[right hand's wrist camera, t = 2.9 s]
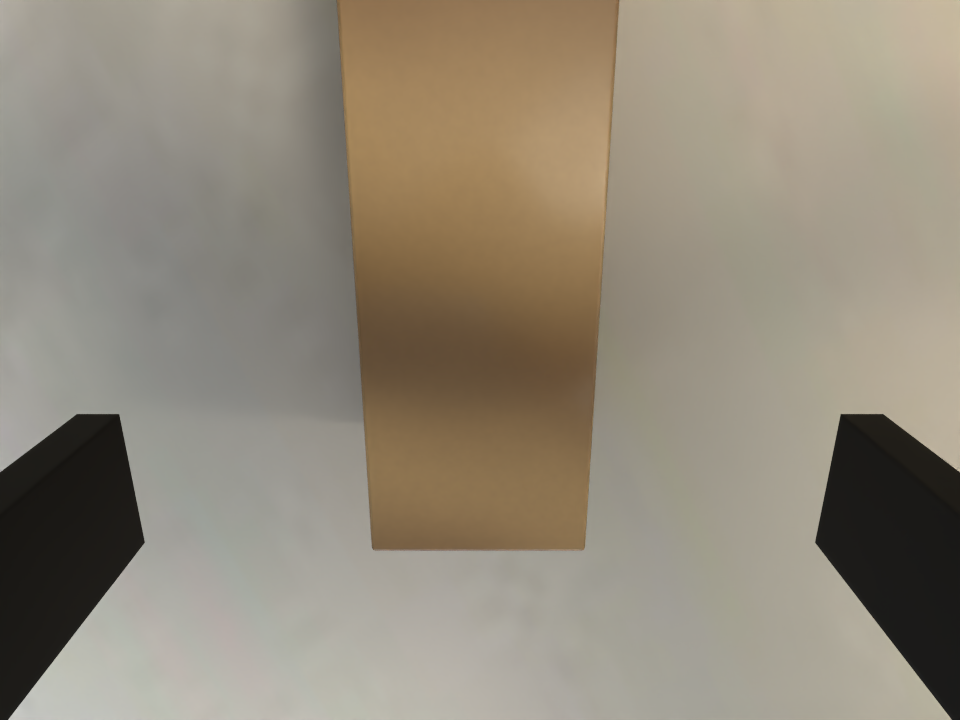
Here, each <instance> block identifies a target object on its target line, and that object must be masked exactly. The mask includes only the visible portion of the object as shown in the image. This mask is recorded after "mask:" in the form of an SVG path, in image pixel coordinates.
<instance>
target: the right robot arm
mask: <svg viewBox="0 0 960 720" xmlns="http://www.w3.org/2000/svg"><path fill="white" fill-rule="evenodd" d="M144 543H145V541H144V536H143V531H142V526H141V521H140V516H139V511H138V506H137V501H136V496H135V491H134V486H133V481H132V476H131V471H130V466H129V461H128V456H127V451H126V446H125V441H124V436H123V431H122V426H121V421H120V416H119V414H77V415H75V416H74V417H73V418H71V419H70V420H69V421H67V422H66V423H65V424H63V425H62V426H61V427H60V428H58V429H57V430H56V431H54V432H53V433H52V434H50V435H49V436H48V437H46V438H45V439H44V440H42V441H41V442H40V443H38V444H37V445H36V446H34V447H33V448H32V449H30V450H29V451H28V452H27V453H25V454H24V455H23V456H21V457H20V458H19V459H17V460H16V461H15V462H13V463H12V464H11V465H9V466H8V467H7V468H5V469H4V470H3V471H1V472H0V720H8V719H9V718H10V716H11V715H12V714H13V712H14V711H15V710H16V709H17V707H18V706H19V705H20V703H21V702H22V701H23V700H24V698H25V697H26V696H27V694H28V693H29V692H30V690H31V689H32V688H33V687H34V685H35V684H36V683H37V681H38V680H39V679H40V678H41V676H42V675H43V674H44V672H45V671H46V670H47V668H48V667H49V666H50V665H51V663H52V662H53V661H54V659H55V658H56V657H57V656H58V654H59V653H60V652H61V650H62V649H63V648H64V646H65V645H66V644H67V643H68V641H69V640H70V639H71V637H72V636H73V635H74V634H75V632H76V631H77V630H78V628H79V627H80V626H81V624H82V623H83V622H84V621H85V619H86V618H87V617H88V615H89V614H90V613H91V612H92V610H93V609H94V608H95V606H96V605H97V604H98V602H99V601H100V600H101V599H102V597H103V596H104V595H105V593H106V592H107V591H108V589H109V588H110V587H111V586H112V584H113V583H114V582H115V580H116V579H117V578H118V577H119V575H120V574H121V573H122V571H123V570H124V569H125V567H126V566H127V565H128V564H129V562H130V561H131V560H132V558H133V557H134V556H135V555H136V553H137V552H138V551H139V549H140V548H141V547H142V545H143V544H144ZM815 543H816V544H817V545H818V547H819V548H820V549H821V551H822V552H823V553H824V555H825V556H826V557H827V558H828V560H829V561H830V562H831V564H832V565H833V566H834V567H835V569H836V570H837V571H838V573H839V574H840V575H841V577H842V578H843V579H844V580H845V582H846V583H847V584H848V586H849V587H850V588H851V589H852V591H853V592H854V593H855V595H856V596H857V597H858V599H859V600H860V601H861V602H862V604H863V605H864V606H865V608H866V609H867V610H868V612H869V613H870V614H871V615H872V617H873V618H874V619H875V621H876V622H877V623H878V624H879V626H880V627H881V628H882V630H883V631H884V632H885V634H886V635H887V636H888V637H889V639H890V640H891V641H892V643H893V644H894V645H895V646H896V648H897V649H898V650H899V652H900V653H901V654H902V656H903V657H904V658H905V659H906V661H907V662H908V663H909V665H910V666H911V667H912V668H913V670H914V671H915V672H916V674H917V675H918V676H919V678H920V679H921V680H922V681H923V683H924V684H925V685H926V687H927V688H928V689H929V690H930V692H931V693H932V694H933V696H934V697H935V698H936V700H937V701H938V702H939V703H940V705H941V706H942V707H943V709H944V710H945V711H946V712H947V714H948V715H949V716H950V718H951V719H952V720H960V472H959V471H957V470H956V469H955V468H953V467H952V466H951V465H949V464H948V463H947V462H945V461H944V460H943V459H941V458H940V457H939V456H937V455H936V454H935V453H933V452H932V451H931V450H929V449H928V448H927V447H926V446H924V445H923V444H922V443H920V442H919V441H918V440H916V439H915V438H914V437H912V436H911V435H910V434H908V433H907V432H906V431H904V430H903V429H902V428H900V427H899V426H898V425H897V424H895V423H894V422H893V421H891V420H890V419H889V418H887V417H886V416H885V415H883V414H841V416H840V421H839V426H838V431H837V436H836V441H835V446H834V451H833V456H832V461H831V466H830V471H829V476H828V481H827V486H826V491H825V496H824V501H823V506H822V511H821V516H820V521H819V526H818V531H817V536H816V541H815Z"/></svg>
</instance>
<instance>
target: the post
mask: <svg viewBox="0 0 960 720" xmlns="http://www.w3.org/2000/svg"><path fill="white" fill-rule="evenodd" d="M618 12H619V0H337V13H338V28H339V44H340V59H341V75H342V90H343V106H344V121H345V137H346V152H347V168H348V183H349V199H350V214H351V230H352V245H353V261H354V276H355V292H356V307H357V323H358V338H359V354H360V369H361V385H362V400H363V416H364V431H365V447H366V462H367V478H368V493H369V509H370V524H371V540H372V548H373V550H375V551H582V550H584V548H585V539H586V523H587V507H588V491H589V475H590V459H591V443H592V427H593V411H594V395H595V379H596V363H597V347H598V331H599V315H600V299H601V284H602V268H603V252H604V236H605V220H606V204H607V188H608V172H609V156H610V140H611V124H612V108H613V92H614V76H615V60H616V44H617V28H618Z"/></svg>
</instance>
